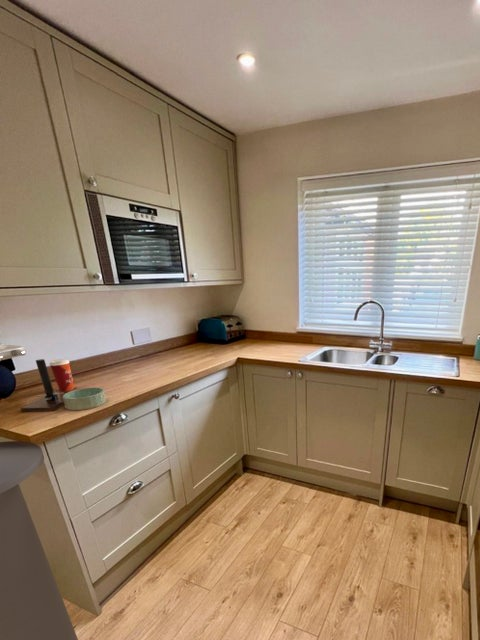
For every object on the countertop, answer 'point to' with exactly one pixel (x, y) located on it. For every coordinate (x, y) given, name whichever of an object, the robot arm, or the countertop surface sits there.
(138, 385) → the countertop surface
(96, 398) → the green bowl
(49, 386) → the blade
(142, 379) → the countertop surface
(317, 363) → the countertop surface
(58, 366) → the paper cup
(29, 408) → the cutting board
